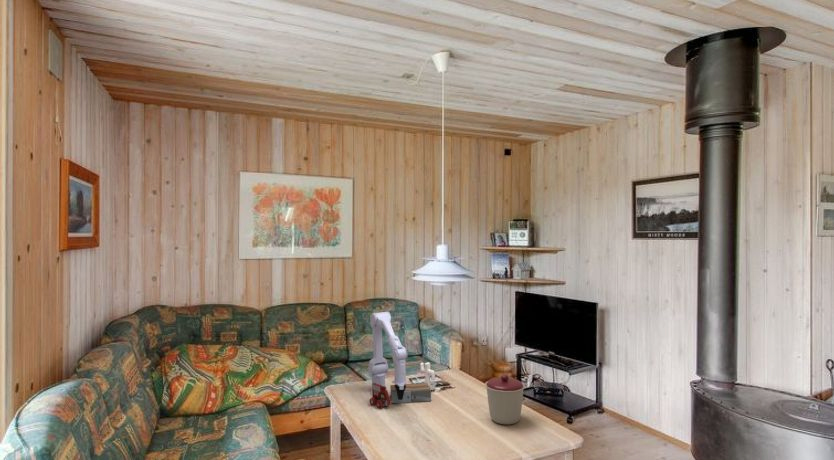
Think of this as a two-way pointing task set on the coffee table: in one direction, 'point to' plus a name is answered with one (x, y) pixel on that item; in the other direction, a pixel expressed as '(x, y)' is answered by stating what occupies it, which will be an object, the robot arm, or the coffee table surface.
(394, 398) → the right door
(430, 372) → the figurine
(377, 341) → the robot arm
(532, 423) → the coffee table surface
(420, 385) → the cabinet
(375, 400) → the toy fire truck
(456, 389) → the coffee table surface
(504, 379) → the canister
